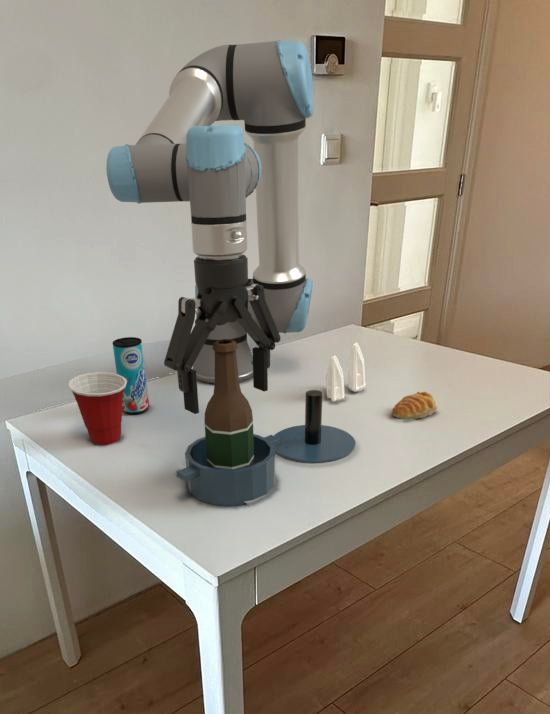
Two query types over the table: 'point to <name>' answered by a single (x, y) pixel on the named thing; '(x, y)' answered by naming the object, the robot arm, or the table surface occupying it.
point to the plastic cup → (100, 404)
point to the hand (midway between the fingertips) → (227, 399)
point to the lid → (314, 437)
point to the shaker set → (354, 374)
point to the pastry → (415, 406)
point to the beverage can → (132, 374)
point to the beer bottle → (228, 414)
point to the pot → (230, 474)
